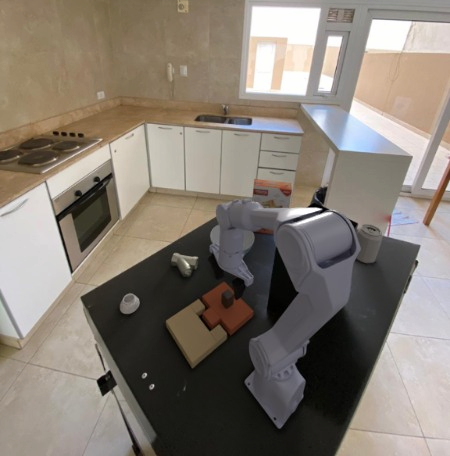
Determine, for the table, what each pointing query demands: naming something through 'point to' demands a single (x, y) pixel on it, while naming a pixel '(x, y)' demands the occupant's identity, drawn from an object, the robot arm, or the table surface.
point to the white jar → (129, 304)
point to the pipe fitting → (184, 263)
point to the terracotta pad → (225, 309)
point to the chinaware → (247, 238)
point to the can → (369, 242)
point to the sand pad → (194, 333)
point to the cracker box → (271, 196)
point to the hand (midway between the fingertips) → (228, 287)
